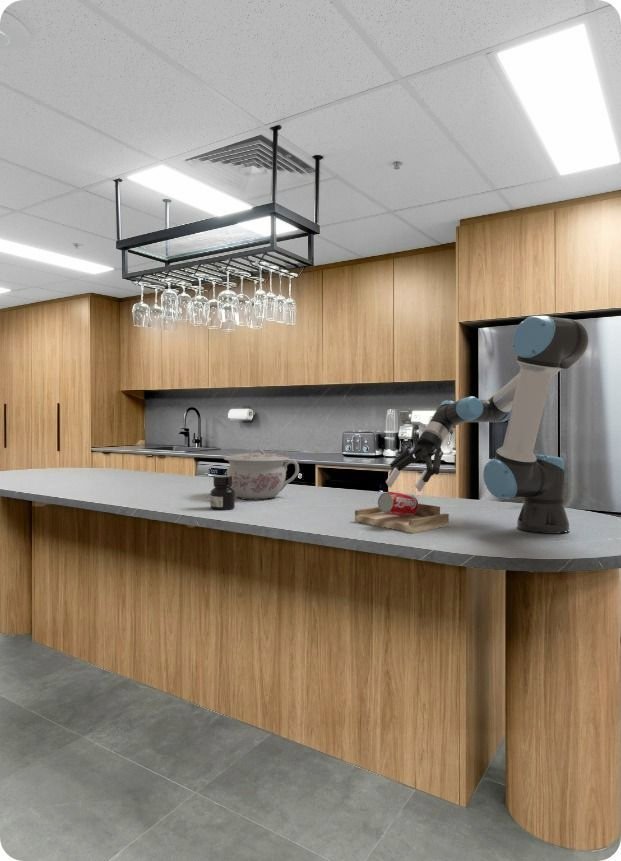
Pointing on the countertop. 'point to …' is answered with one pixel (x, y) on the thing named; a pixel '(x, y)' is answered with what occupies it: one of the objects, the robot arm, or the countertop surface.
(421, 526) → the wooden tray
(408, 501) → the soda can
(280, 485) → the chamber pot
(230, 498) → the ink bottle
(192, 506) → the countertop surface
